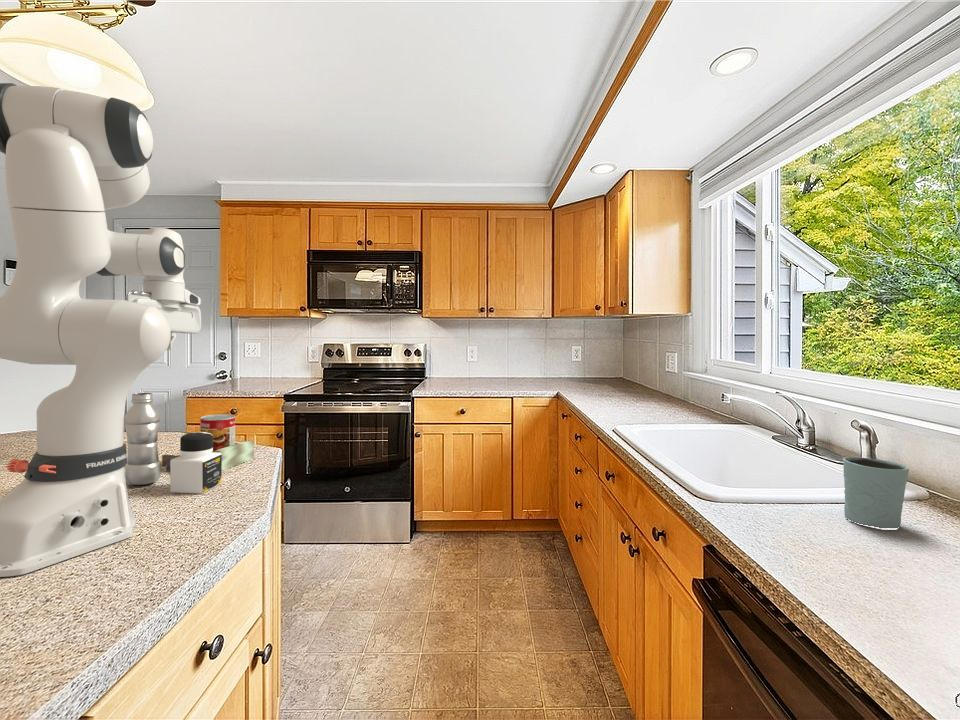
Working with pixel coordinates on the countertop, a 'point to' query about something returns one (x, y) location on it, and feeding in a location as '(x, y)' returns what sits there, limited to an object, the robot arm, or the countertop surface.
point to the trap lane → (226, 455)
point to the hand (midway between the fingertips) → (164, 349)
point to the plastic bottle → (142, 441)
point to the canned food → (219, 429)
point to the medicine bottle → (196, 465)
